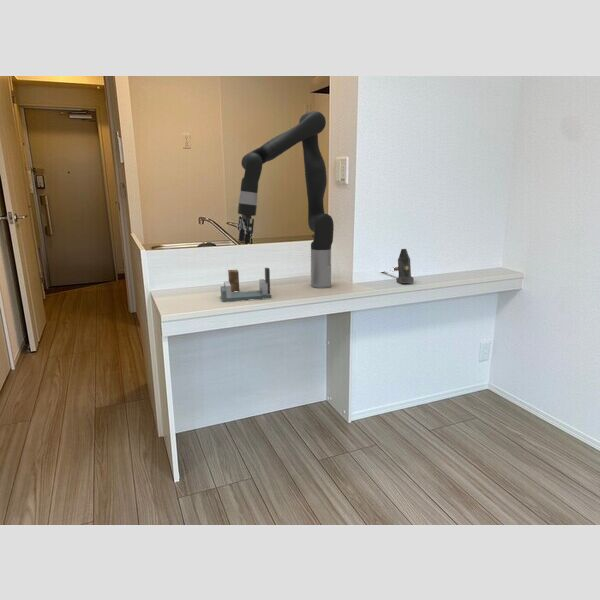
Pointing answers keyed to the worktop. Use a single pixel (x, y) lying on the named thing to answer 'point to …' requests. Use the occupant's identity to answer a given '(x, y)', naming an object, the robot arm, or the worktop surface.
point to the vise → (240, 294)
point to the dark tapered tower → (404, 268)
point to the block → (234, 280)
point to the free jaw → (265, 283)
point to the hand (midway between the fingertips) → (244, 242)
